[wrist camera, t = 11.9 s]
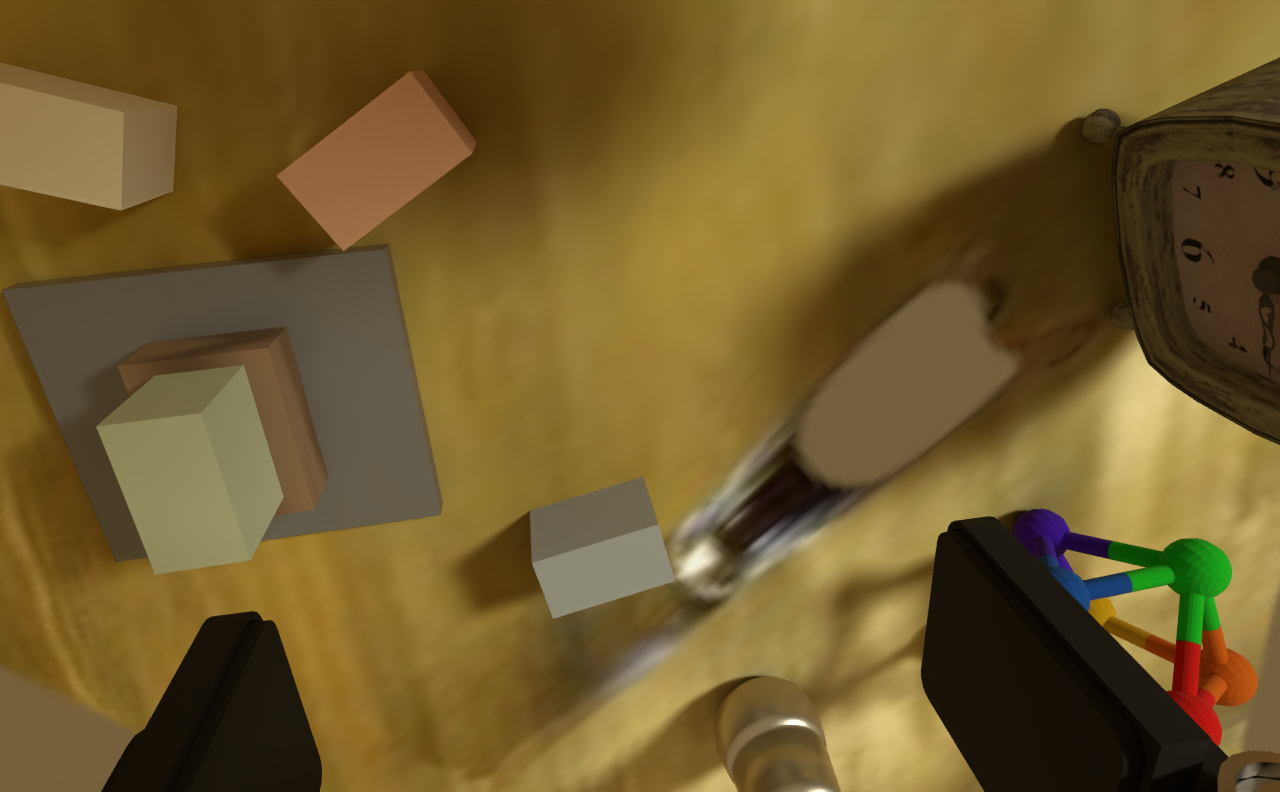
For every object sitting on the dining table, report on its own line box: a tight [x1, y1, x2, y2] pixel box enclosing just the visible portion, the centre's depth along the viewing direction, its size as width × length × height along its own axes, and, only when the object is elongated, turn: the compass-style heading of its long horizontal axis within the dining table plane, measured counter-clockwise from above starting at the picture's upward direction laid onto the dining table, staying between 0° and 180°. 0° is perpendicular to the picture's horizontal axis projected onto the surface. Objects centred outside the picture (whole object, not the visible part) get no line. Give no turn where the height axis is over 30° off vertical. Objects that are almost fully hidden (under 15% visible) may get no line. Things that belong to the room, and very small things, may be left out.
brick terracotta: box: [277, 71, 477, 251], centre depth 32 cm, size 6×4×5 cm, turn 125°
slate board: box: [2, 244, 443, 562], centre depth 37 cm, size 16×14×1 cm
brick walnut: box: [118, 326, 328, 515], centre depth 35 cm, size 6×8×3 cm
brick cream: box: [0, 62, 178, 211], centre depth 30 cm, size 6×4×5 cm, turn 75°
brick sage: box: [96, 365, 284, 574], centre depth 32 cm, size 6×4×5 cm, turn 5°
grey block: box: [530, 477, 675, 619], centre depth 41 cm, size 6×4×5 cm, turn 105°
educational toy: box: [1013, 509, 1258, 746], centre depth 43 cm, size 16×13×15 cm
